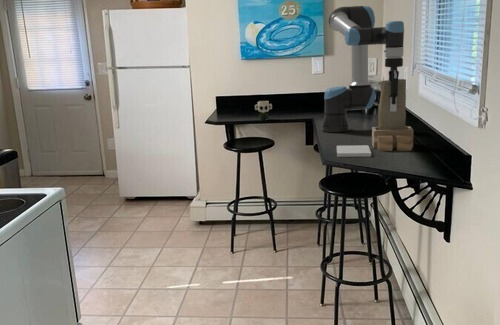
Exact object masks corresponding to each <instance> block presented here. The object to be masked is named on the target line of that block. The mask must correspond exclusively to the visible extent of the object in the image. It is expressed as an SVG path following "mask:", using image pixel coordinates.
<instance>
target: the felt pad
mask: <svg viewBox="0 0 500 325" xmlns="http://www.w3.org/2000/svg"><path fill="white" fill-rule="evenodd" d="M336 156H337V158H347V157H349V158H351V157H352V158H355V157H356V158H359V157H365V158H369V157H370V158H371V157H372V150H371V148H370V147H369V144H368V145H366V144H365V145H364V144H363V145H360V144H359V145H356V144H355V145H336Z"/></svg>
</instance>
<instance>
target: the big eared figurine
mask: <svg viewBox="0 0 500 325" xmlns="http://www.w3.org/2000/svg"><path fill="white" fill-rule="evenodd" d="M272 109H273V104H272V103H270V102H269V100H259V101H257V104H255V105H254V110H255V111H258V112H259V116H258V117H259V118H258V120H259V119H260V120H259V121H267V120H266V119H268V118H269V113H268V112H269V111H270V110H272Z"/></svg>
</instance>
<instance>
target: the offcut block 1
mask: <svg viewBox="0 0 500 325" xmlns="http://www.w3.org/2000/svg"><path fill="white" fill-rule="evenodd" d="M376 149H377V150H378V151H379V152H380V151H383V152H384V151H386V152H388V151H390V152H391V151H393V149H394V148H393V137H392V136H378V147H377V148H376ZM378 151H377V152H378Z"/></svg>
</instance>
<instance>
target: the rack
mask: <svg viewBox="0 0 500 325" xmlns="http://www.w3.org/2000/svg"><path fill="white" fill-rule="evenodd" d="M401 135H411V137H412V149H413V148H414V129H413V128H412V126H409V125H408V126H407V125H406V130H379V126H372V127H371V144H372V145H371V146H372V147H373V148H374V149H377V147H378V136H392V137H393V148H392V149H396V136H401Z"/></svg>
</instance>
